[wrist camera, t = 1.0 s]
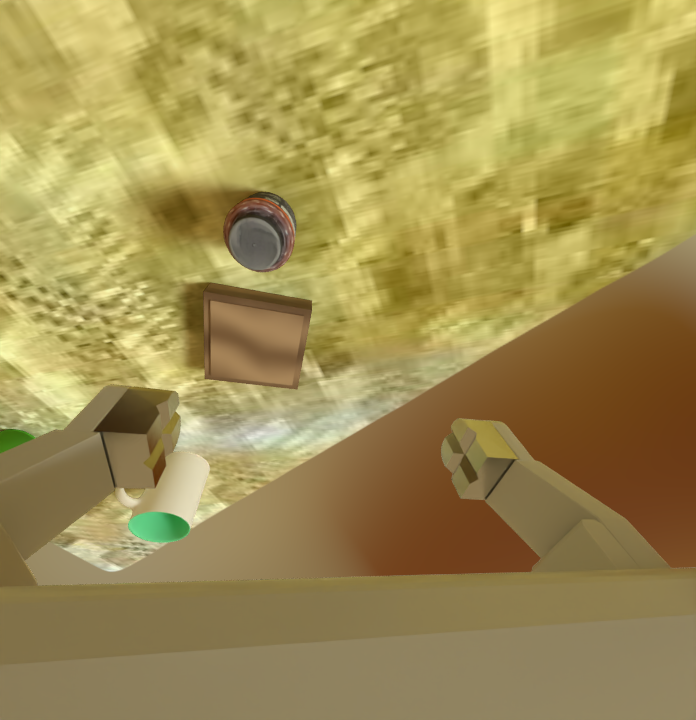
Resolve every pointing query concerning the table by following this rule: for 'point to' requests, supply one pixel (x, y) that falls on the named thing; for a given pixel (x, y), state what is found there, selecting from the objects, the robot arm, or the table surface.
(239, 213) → the supplement bottle
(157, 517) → the mug
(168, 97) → the table surface
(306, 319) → the brown box
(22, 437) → the cup
